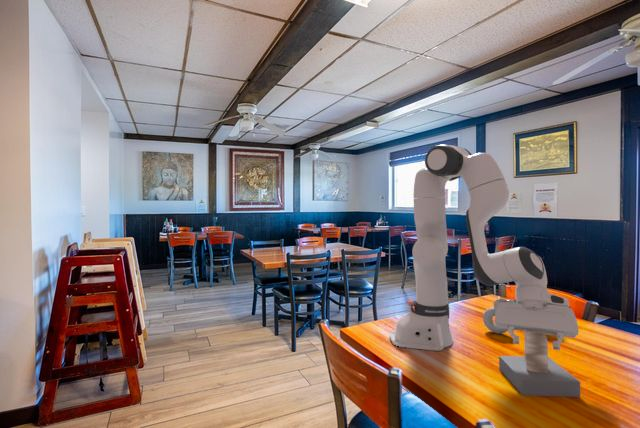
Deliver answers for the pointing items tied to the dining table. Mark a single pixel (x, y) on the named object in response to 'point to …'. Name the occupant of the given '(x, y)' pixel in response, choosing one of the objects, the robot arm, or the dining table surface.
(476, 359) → the dining table surface
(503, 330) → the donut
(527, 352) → the grey upright block
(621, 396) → the dining table surface
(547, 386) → the grey plinth
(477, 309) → the dining table surface
